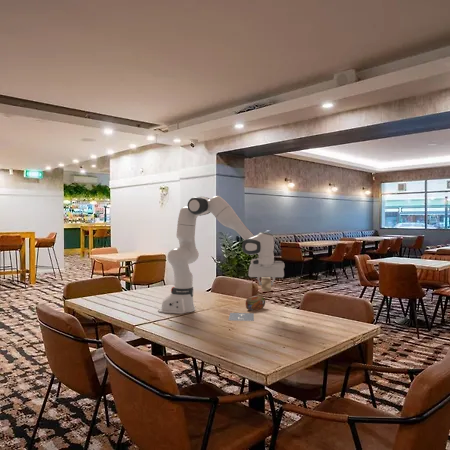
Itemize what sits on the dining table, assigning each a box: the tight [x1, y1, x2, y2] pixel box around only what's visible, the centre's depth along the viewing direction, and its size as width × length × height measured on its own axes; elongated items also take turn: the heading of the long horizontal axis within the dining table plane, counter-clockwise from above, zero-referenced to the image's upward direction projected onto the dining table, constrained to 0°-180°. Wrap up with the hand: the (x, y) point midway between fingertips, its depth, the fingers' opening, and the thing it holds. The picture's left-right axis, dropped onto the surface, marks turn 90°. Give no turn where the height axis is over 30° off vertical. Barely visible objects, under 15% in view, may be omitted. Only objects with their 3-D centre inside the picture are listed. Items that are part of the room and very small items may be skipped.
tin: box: [245, 295, 266, 311], centre depth 251 cm, size 15×3×8 cm, turn 129°
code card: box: [228, 312, 255, 322], centre depth 231 cm, size 14×18×1 cm
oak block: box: [260, 277, 272, 292], centre depth 230 cm, size 5×12×6 cm, turn 176°
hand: (266, 285), depth 230 cm, fingers closed on oak block, 5 cm apart
